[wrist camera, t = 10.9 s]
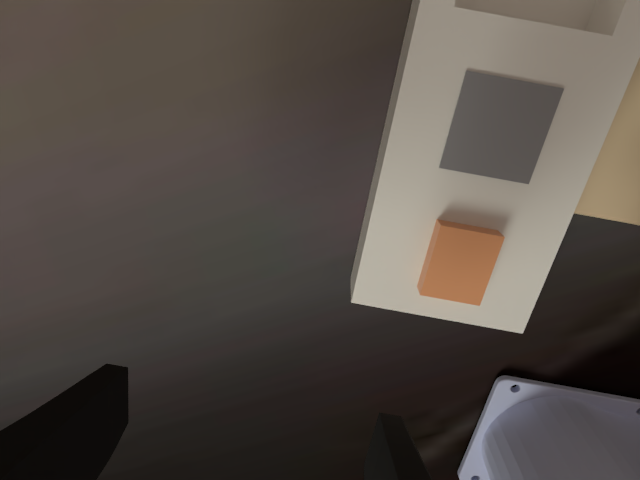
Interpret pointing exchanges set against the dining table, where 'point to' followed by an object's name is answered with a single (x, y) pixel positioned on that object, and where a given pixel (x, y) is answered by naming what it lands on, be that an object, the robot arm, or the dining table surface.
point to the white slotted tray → (489, 152)
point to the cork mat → (617, 165)
